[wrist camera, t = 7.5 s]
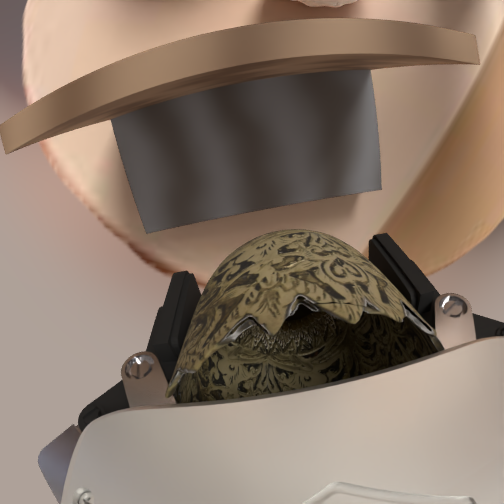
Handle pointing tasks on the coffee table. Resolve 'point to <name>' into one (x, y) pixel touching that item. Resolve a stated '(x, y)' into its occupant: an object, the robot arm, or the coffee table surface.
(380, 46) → the board
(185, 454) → the robot arm
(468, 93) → the coffee table surface
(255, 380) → the cup
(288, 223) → the coffee table surface
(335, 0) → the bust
